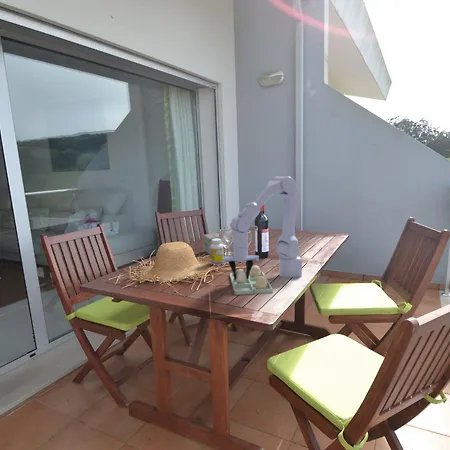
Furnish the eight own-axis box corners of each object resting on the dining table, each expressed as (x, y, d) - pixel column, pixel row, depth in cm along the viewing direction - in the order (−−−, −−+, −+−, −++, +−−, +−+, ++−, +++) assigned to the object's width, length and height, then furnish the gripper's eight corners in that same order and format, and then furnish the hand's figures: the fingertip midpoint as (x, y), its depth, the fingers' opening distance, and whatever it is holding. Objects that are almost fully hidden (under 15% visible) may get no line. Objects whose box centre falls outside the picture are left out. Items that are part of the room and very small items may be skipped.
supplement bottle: (209, 263, 168) (208, 238, 166) (221, 261, 171) (220, 237, 168) (213, 266, 162) (212, 241, 160) (225, 264, 165) (224, 240, 162)
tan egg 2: (265, 287, 131) (265, 274, 130) (267, 291, 126) (267, 277, 125) (254, 287, 131) (254, 274, 130) (256, 291, 126) (256, 278, 125)
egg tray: (262, 276, 146) (262, 271, 146) (272, 294, 125) (272, 289, 125) (230, 277, 145) (229, 272, 145) (234, 296, 124) (234, 291, 124)
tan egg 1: (259, 275, 145) (259, 263, 144) (261, 279, 140) (261, 266, 139) (249, 276, 144) (249, 264, 143) (251, 279, 140) (251, 267, 139)
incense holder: (209, 255, 184) (208, 237, 182) (203, 251, 191) (202, 234, 189) (224, 252, 189) (224, 234, 187) (217, 249, 196) (217, 232, 194)
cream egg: (245, 279, 137) (245, 267, 136) (247, 283, 133) (247, 270, 132) (235, 280, 137) (235, 267, 136) (236, 284, 132) (236, 271, 132)
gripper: (256, 243, 136) (257, 274, 139) (221, 244, 136) (223, 276, 138) (259, 247, 130) (259, 280, 132) (223, 249, 129) (224, 281, 131)
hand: (241, 278), depth 135 cm, fingers closed on cream egg, 4 cm apart
